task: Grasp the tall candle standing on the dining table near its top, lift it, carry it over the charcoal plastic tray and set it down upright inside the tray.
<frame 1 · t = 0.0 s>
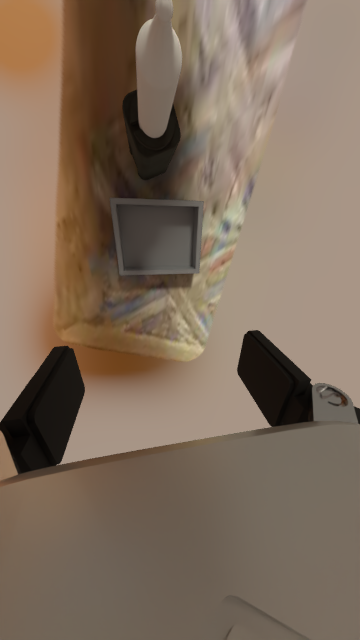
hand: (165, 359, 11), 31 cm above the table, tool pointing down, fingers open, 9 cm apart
tray: (158, 238, 36), on the table
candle: (149, 158, 31), on the table
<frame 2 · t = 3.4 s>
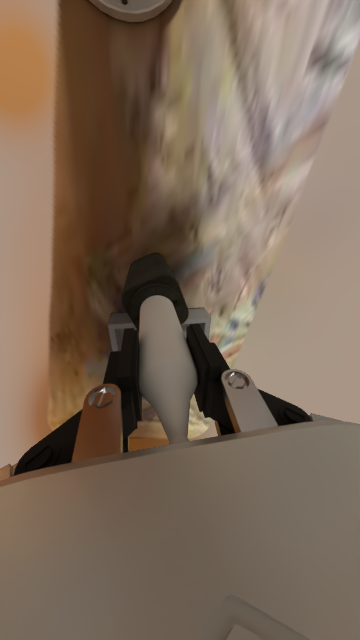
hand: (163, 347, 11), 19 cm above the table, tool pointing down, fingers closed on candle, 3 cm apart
tray: (160, 341, 33), on the table
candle: (151, 273, 28), on the table, touching gripper
when the fingers open (21 cm above the table, at t = 9.1 s): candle drops 1 cm, resting on tray.
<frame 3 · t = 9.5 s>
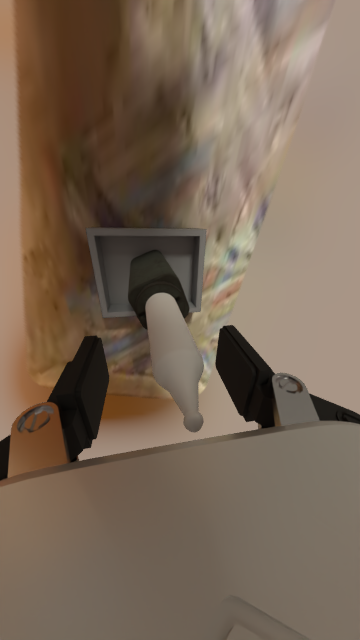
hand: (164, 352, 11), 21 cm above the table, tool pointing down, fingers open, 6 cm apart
tray: (150, 270, 30), on the table
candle: (150, 269, 29), point 1 cm above the table, touching tray
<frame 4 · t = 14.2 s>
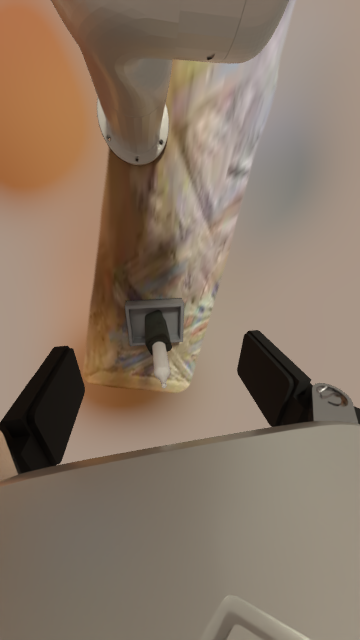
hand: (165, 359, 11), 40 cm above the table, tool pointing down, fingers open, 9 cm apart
tray: (155, 319, 54), on the table
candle: (155, 319, 54), point 1 cm above the table, touching tray
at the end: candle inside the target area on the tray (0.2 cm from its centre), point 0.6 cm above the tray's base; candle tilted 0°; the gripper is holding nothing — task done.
